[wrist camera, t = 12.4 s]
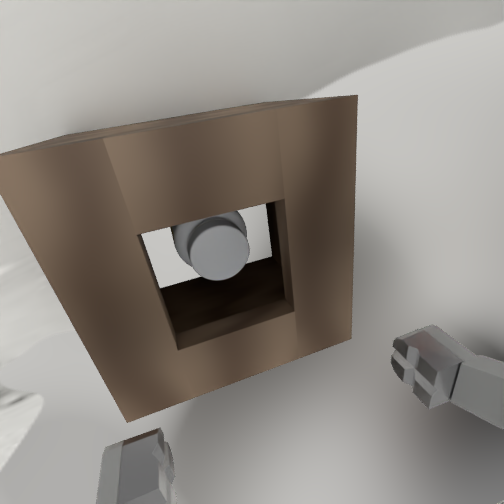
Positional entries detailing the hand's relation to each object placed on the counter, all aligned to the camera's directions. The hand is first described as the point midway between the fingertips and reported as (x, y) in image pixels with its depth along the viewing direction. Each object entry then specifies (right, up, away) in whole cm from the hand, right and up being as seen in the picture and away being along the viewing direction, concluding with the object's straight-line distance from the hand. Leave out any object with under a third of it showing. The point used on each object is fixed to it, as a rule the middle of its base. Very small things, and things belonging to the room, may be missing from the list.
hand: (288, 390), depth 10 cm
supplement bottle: (-6, +9, +18) cm, 21 cm away
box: (-7, +8, +18) cm, 21 cm away
